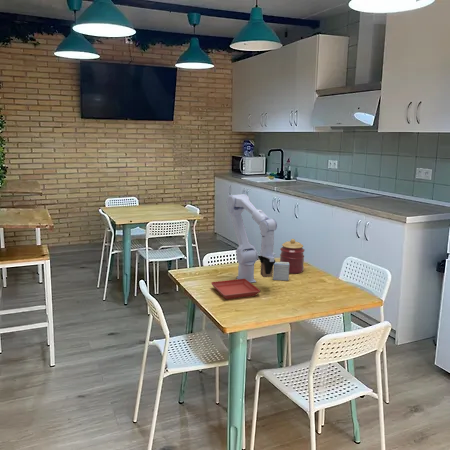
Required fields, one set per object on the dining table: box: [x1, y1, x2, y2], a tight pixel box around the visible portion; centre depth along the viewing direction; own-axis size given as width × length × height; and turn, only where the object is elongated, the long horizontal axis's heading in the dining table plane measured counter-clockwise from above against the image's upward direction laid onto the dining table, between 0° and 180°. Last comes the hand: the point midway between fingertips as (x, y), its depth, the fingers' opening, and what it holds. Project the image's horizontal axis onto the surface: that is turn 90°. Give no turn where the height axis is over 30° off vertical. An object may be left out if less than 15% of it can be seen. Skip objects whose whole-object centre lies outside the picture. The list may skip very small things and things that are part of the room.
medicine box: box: [272, 261, 290, 281], centre depth 230 cm, size 8×4×9 cm, turn 84°
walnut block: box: [260, 262, 274, 278], centre depth 214 cm, size 4×4×6 cm
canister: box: [279, 238, 305, 274], centre depth 244 cm, size 13×13×18 cm
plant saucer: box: [210, 278, 261, 300], centre depth 211 cm, size 18×18×3 cm
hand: (266, 272), depth 215 cm, fingers closed on walnut block, 4 cm apart
